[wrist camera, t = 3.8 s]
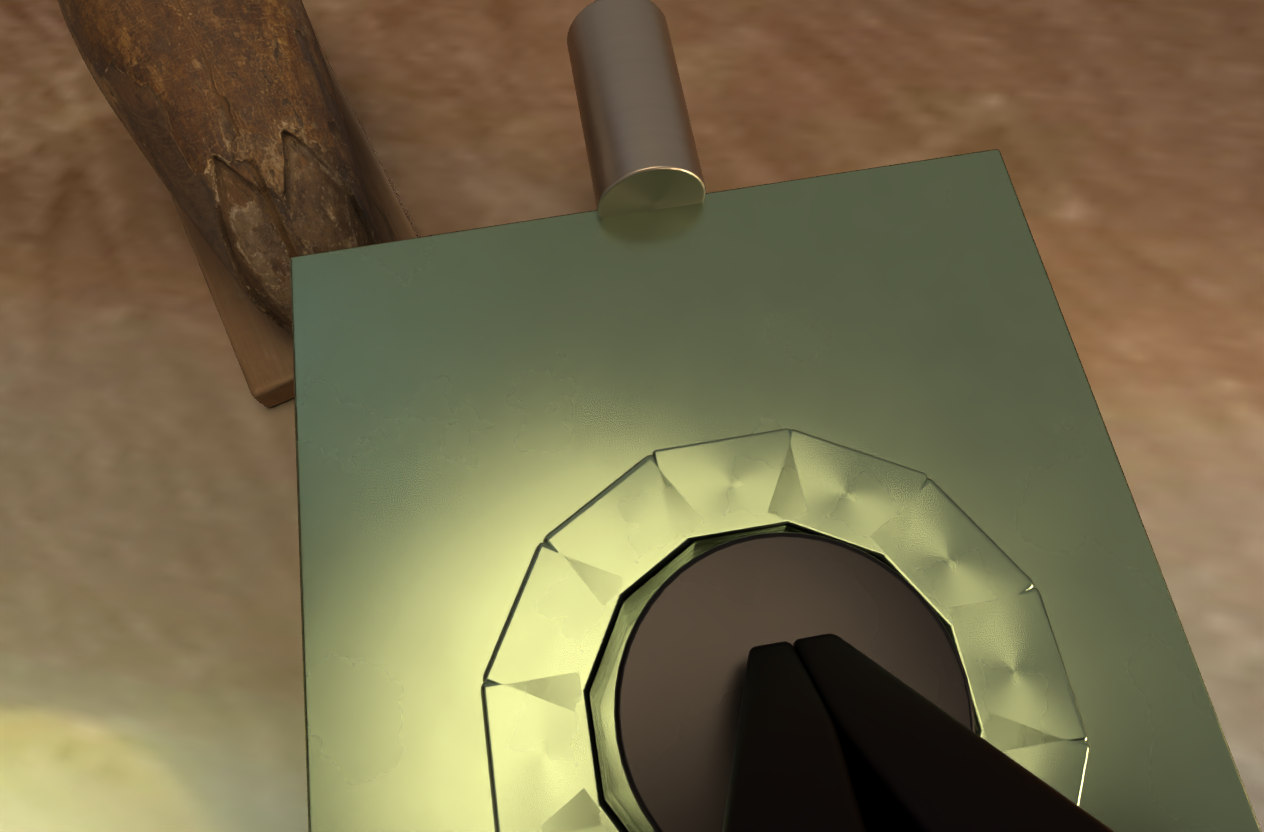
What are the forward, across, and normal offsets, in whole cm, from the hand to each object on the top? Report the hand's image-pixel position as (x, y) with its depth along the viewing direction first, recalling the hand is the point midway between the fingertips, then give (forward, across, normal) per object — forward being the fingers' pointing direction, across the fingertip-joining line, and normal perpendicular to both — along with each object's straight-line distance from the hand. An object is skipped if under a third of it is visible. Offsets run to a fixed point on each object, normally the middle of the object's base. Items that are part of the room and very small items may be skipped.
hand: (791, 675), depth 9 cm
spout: (+10, 0, -4) cm, 10 cm away
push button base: (+8, 0, +4) cm, 9 cm away
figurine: (+16, +8, -4) cm, 19 cm away
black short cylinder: (+2, 0, +2) cm, 3 cm away
